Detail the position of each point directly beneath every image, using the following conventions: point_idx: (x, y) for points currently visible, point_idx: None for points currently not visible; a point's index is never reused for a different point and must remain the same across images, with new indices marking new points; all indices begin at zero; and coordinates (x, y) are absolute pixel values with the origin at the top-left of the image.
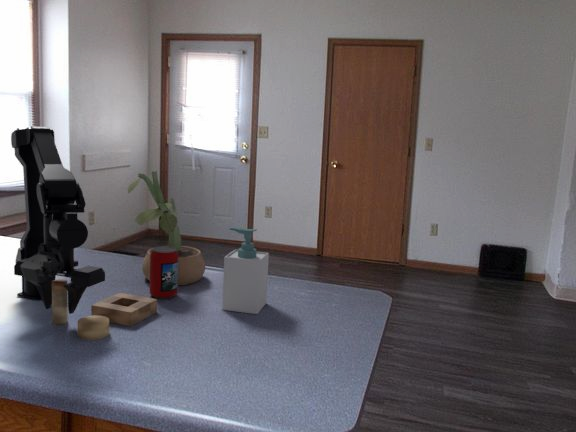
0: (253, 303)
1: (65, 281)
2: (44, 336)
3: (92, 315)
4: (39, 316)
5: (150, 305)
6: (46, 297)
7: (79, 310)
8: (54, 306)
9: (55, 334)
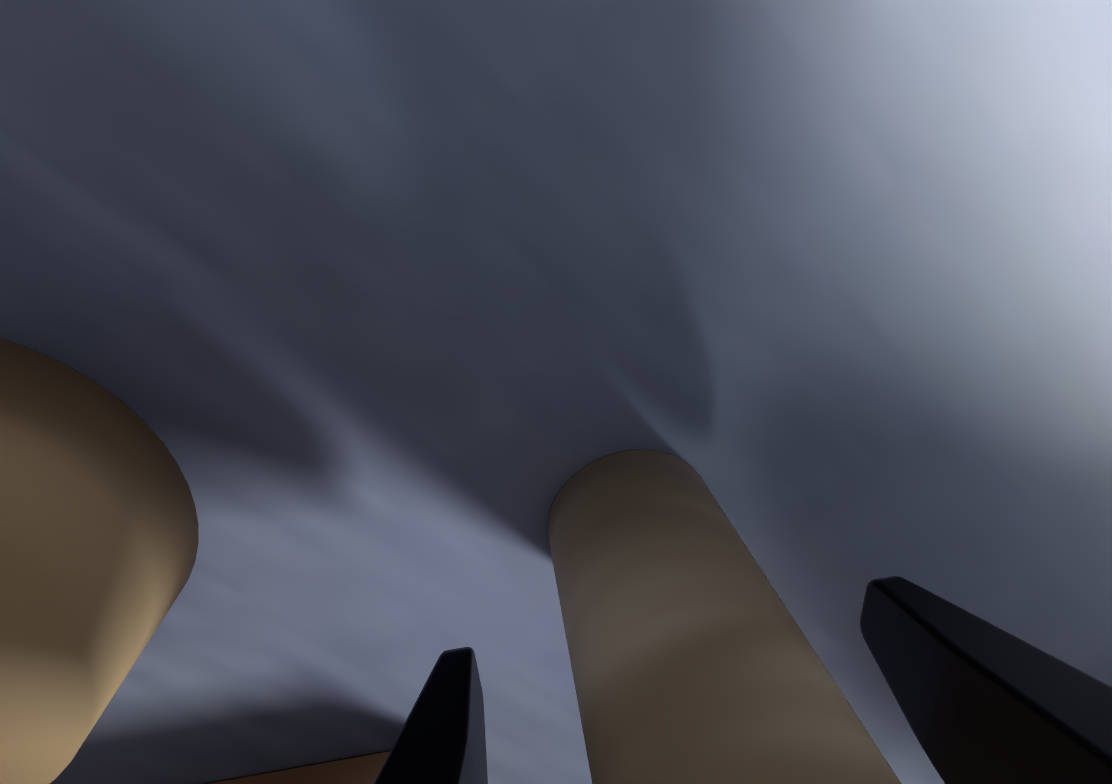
0: None
1: None
2: (412, 79)
3: None
4: (940, 512)
5: None
6: (1048, 758)
7: None
8: (720, 638)
9: (353, 233)
